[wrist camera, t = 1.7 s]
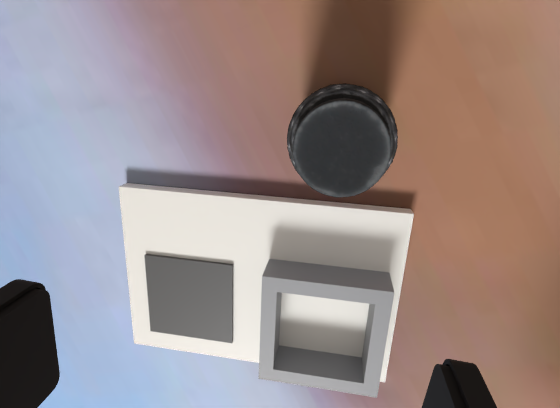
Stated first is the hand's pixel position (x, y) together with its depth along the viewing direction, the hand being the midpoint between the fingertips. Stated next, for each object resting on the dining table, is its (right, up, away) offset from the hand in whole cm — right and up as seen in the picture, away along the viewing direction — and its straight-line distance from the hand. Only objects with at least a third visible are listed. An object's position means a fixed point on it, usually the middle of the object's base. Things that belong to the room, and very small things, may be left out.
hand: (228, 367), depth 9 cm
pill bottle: (+6, +10, +19) cm, 22 cm away
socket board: (-1, -3, +24) cm, 24 cm away
